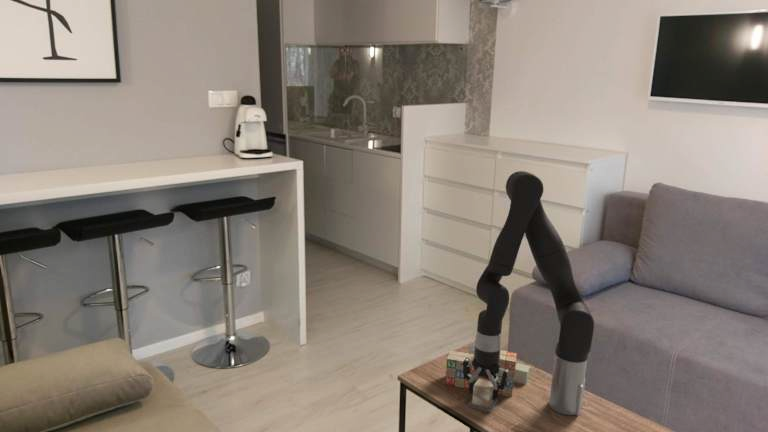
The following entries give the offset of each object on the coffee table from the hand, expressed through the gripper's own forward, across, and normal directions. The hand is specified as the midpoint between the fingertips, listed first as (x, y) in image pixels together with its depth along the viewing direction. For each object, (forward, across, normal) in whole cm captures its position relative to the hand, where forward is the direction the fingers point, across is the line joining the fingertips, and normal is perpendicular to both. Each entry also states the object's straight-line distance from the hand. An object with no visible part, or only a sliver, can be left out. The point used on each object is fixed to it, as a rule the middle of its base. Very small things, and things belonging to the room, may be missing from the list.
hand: (483, 395), depth 177 cm
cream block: (+2, 0, 0) cm, 2 cm away
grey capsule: (+3, +11, -22) cm, 25 cm away
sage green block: (+3, -6, -21) cm, 22 cm away
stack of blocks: (+3, +4, -10) cm, 11 cm away
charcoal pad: (+3, 0, 0) cm, 3 cm away
